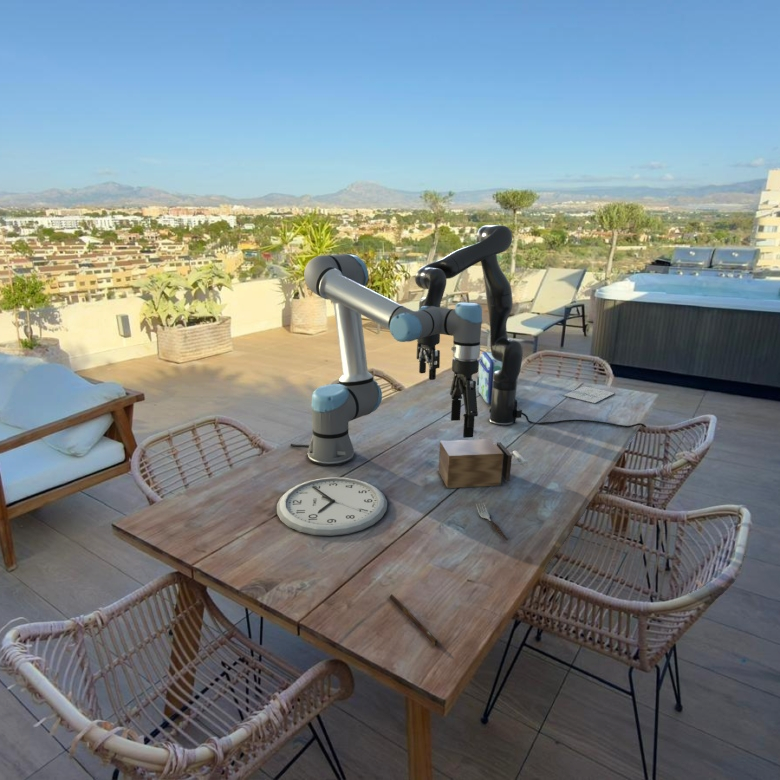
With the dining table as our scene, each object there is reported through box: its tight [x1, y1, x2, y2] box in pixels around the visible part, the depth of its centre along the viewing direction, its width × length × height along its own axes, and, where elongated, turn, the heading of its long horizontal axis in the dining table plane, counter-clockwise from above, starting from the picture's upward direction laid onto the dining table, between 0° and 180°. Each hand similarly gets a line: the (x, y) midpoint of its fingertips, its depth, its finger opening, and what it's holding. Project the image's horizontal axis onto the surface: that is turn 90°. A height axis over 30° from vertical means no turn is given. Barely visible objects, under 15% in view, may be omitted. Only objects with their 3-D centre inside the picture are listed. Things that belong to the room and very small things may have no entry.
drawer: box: [496, 441, 528, 482], centre depth 159 cm, size 21×10×8 cm, turn 98°
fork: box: [475, 502, 508, 541], centre depth 134 cm, size 3×16×2 cm, turn 16°
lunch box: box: [476, 351, 503, 406], centre depth 230 cm, size 26×11×21 cm, turn 179°
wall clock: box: [276, 476, 388, 537], centre depth 142 cm, size 30×2×30 cm
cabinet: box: [438, 438, 503, 489], centre depth 158 cm, size 16×11×10 cm
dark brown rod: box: [389, 593, 438, 646], centre depth 101 cm, size 15×1×1 cm, turn 34°
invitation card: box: [562, 385, 616, 404], centre depth 242 cm, size 21×1×15 cm
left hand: (461, 428), depth 154 cm, fingers open, 13 cm apart
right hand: (427, 376), depth 178 cm, fingers open, 8 cm apart
